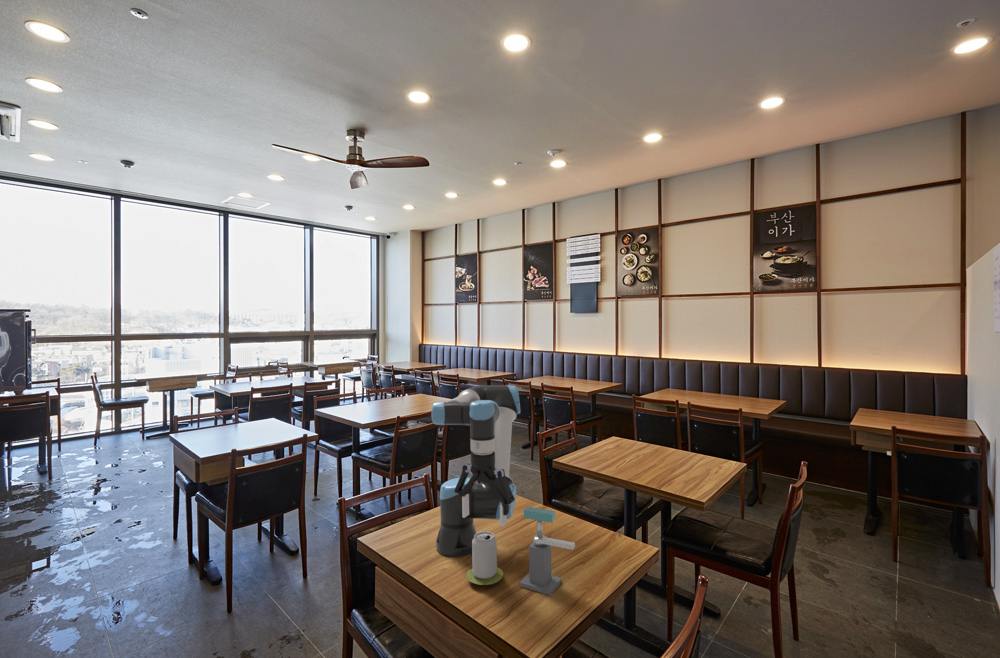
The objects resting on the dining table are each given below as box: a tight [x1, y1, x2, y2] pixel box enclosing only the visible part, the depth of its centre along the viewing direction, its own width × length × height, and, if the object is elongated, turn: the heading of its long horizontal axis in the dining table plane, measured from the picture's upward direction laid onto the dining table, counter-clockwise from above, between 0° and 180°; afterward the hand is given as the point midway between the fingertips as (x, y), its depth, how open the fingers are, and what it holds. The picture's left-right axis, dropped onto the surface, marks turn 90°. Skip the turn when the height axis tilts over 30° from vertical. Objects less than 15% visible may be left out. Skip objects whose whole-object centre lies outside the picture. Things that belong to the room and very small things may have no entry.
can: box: [471, 530, 498, 579], centre depth 138 cm, size 8×8×12 cm
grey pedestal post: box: [519, 542, 562, 596], centre depth 135 cm, size 10×8×12 cm
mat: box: [466, 566, 504, 586], centre depth 138 cm, size 11×11×2 cm
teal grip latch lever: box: [523, 506, 576, 551], centre depth 134 cm, size 4×15×10 cm, turn 65°
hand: (484, 520), depth 138 cm, fingers open, 13 cm apart
